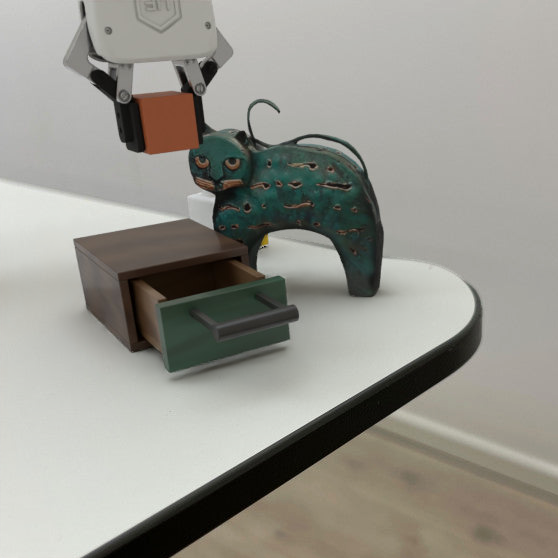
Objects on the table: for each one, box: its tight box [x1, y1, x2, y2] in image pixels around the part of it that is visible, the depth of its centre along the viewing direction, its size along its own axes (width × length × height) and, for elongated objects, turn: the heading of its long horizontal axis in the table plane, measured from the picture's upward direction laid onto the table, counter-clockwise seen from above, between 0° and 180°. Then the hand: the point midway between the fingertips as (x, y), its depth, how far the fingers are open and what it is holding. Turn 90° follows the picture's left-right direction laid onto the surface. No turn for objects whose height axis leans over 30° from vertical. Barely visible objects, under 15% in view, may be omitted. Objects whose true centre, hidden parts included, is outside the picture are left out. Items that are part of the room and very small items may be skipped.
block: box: [132, 90, 199, 156], centre depth 66 cm, size 4×4×4 cm
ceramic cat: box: [187, 98, 385, 298], centre depth 80 cm, size 20×6×20 cm, turn 75°
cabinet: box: [72, 217, 250, 353], centre depth 77 cm, size 15×13×8 cm
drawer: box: [128, 258, 300, 374], centre depth 68 cm, size 20×11×6 cm, turn 34°
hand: (164, 144), depth 67 cm, fingers closed on block, 4 cm apart
